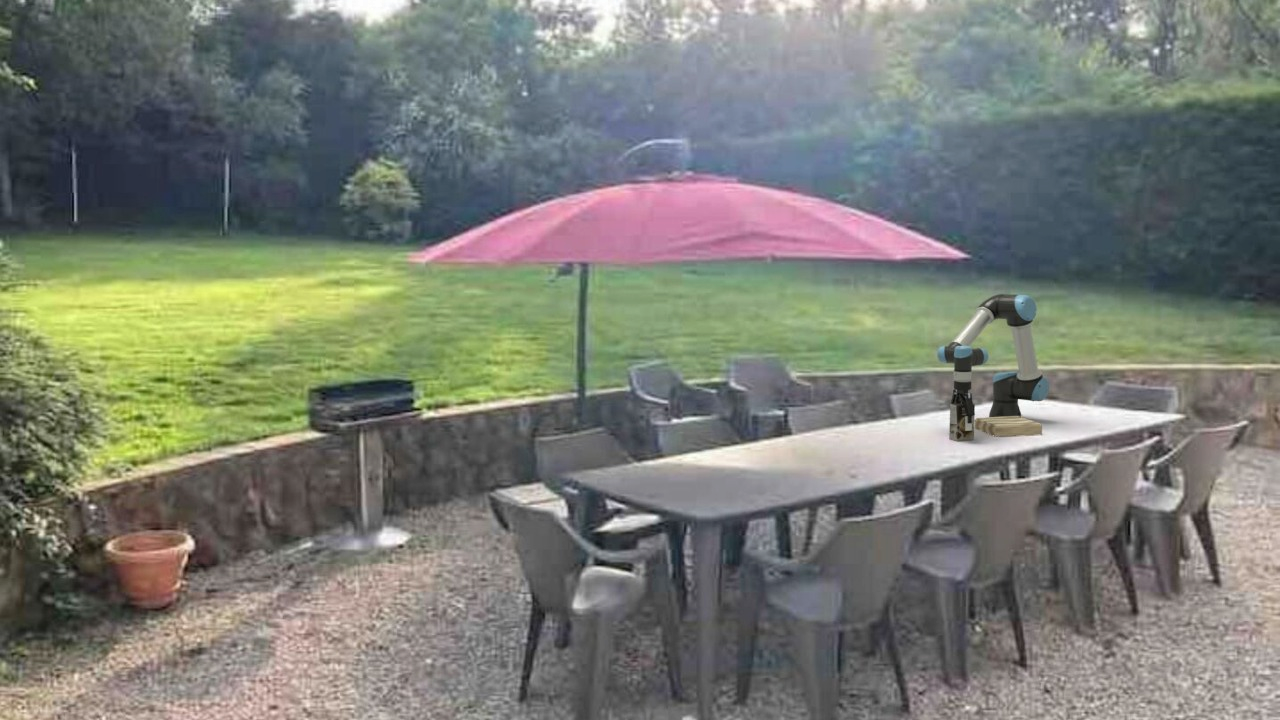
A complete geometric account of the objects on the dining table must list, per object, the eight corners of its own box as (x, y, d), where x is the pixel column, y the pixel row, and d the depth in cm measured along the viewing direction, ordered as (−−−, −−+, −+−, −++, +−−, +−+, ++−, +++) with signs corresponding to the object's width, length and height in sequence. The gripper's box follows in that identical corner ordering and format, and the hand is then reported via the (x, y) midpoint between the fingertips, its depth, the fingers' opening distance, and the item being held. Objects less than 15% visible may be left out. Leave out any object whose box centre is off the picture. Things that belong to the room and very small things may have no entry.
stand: (974, 428, 520) (974, 417, 519) (1018, 426, 523) (1018, 415, 523) (996, 437, 498) (996, 426, 498) (1041, 434, 502) (1042, 423, 501)
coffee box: (957, 441, 490) (957, 405, 488) (948, 438, 497) (949, 403, 495) (974, 439, 493) (975, 404, 491) (966, 437, 499) (966, 402, 497)
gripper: (942, 377, 503) (942, 423, 506) (967, 384, 479) (966, 433, 481) (958, 376, 505) (957, 422, 507) (983, 384, 480) (982, 432, 483)
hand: (961, 427), depth 494 cm, fingers open, 13 cm apart
